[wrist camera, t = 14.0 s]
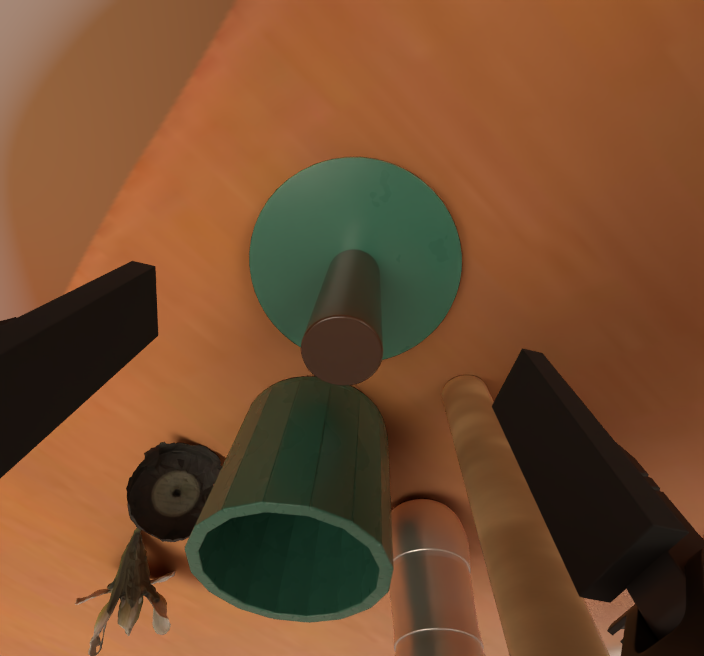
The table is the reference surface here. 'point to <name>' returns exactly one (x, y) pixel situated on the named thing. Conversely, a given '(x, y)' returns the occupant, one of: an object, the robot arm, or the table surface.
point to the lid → (354, 264)
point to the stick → (515, 536)
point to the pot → (300, 507)
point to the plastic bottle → (432, 583)
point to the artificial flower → (156, 527)
